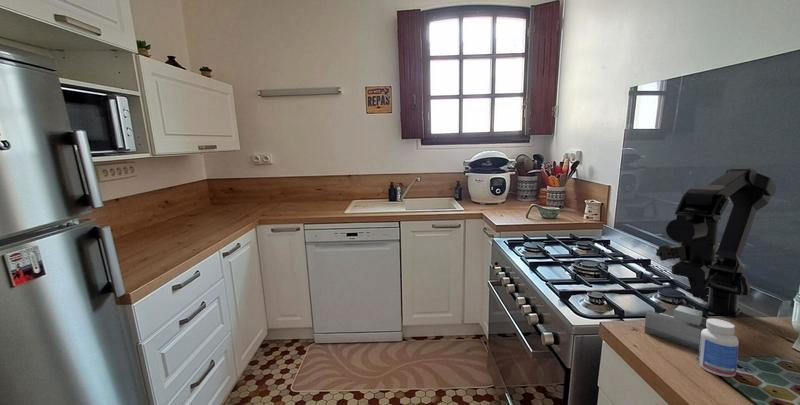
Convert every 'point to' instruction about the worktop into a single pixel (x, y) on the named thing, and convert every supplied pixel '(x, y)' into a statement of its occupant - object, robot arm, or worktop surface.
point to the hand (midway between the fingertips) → (696, 297)
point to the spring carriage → (687, 315)
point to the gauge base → (674, 328)
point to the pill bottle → (719, 348)
